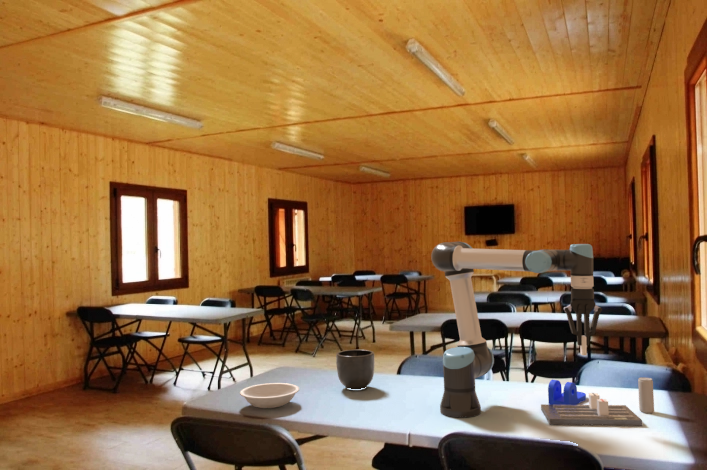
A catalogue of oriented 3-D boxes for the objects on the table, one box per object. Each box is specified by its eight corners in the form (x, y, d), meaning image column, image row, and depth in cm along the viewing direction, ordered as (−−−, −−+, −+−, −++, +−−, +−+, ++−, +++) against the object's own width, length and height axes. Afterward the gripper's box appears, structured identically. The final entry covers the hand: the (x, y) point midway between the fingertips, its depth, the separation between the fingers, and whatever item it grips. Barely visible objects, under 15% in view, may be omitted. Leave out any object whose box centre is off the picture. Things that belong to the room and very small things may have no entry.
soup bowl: (228, 407, 232) (227, 391, 233) (274, 395, 250) (274, 380, 250) (265, 418, 216) (264, 401, 216) (312, 404, 234) (311, 388, 234)
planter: (375, 393, 248) (374, 355, 248) (336, 394, 248) (335, 357, 249) (375, 383, 265) (373, 348, 266) (337, 384, 266) (336, 349, 266)
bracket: (569, 408, 217) (568, 384, 217) (548, 404, 223) (547, 381, 223) (589, 398, 230) (588, 376, 230) (569, 395, 235) (568, 373, 236)
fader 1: (591, 409, 207) (590, 395, 207) (589, 407, 210) (588, 392, 210) (600, 409, 206) (599, 395, 206) (597, 407, 209) (597, 392, 209)
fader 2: (599, 416, 199) (599, 401, 199) (597, 413, 202) (596, 398, 202) (608, 416, 198) (608, 401, 198) (606, 413, 201) (605, 398, 201)
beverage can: (648, 414, 206) (647, 381, 206) (636, 411, 210) (635, 378, 210) (657, 412, 208) (655, 379, 208) (645, 409, 212) (643, 376, 212)
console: (549, 424, 198) (549, 417, 198) (541, 409, 216) (540, 402, 216) (642, 426, 193) (642, 418, 193) (625, 410, 211) (625, 403, 211)
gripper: (565, 288, 199) (566, 356, 199) (604, 288, 197) (606, 357, 197) (560, 286, 207) (562, 352, 207) (598, 286, 205) (600, 352, 205)
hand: (583, 354), depth 202 cm, fingers closed
